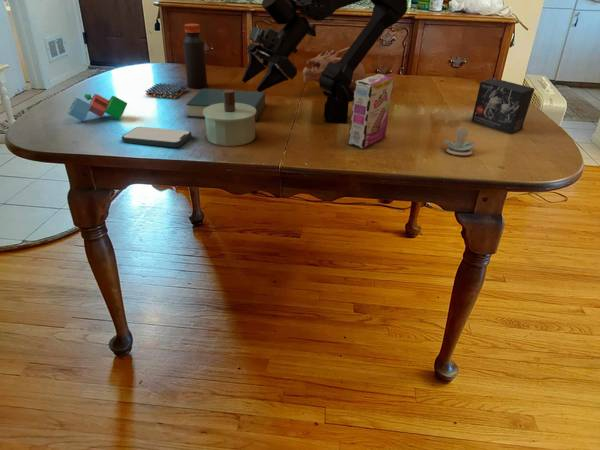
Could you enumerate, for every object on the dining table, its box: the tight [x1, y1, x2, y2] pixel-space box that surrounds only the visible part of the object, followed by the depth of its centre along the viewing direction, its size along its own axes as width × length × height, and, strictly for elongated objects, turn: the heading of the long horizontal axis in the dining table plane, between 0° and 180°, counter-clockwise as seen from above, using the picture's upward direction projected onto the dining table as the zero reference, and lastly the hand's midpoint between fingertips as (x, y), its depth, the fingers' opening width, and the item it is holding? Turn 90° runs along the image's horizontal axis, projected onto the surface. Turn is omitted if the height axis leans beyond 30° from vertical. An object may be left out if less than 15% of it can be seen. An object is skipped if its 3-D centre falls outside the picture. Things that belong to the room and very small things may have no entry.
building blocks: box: [67, 93, 128, 122], centre depth 127 cm, size 8×8×12 cm
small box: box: [471, 77, 535, 134], centre depth 131 cm, size 13×7×12 cm, turn 40°
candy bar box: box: [348, 73, 395, 150], centre depth 116 cm, size 11×5×16 cm, turn 141°
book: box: [185, 88, 266, 123], centre depth 137 cm, size 20×16×4 cm
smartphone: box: [121, 126, 193, 148], centre depth 117 cm, size 9×2×16 cm
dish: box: [204, 116, 256, 147], centre depth 119 cm, size 13×13×6 cm
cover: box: [203, 89, 256, 122], centre depth 116 cm, size 14×14×6 cm
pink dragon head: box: [302, 47, 366, 88], centre depth 155 cm, size 13×15×25 cm
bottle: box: [182, 23, 208, 90], centre depth 155 cm, size 7×7×20 cm
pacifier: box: [444, 126, 475, 157], centre depth 114 cm, size 7×6×6 cm
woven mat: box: [145, 82, 187, 100], centre depth 151 cm, size 10×11×2 cm
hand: (250, 86), depth 116 cm, fingers open, 9 cm apart
